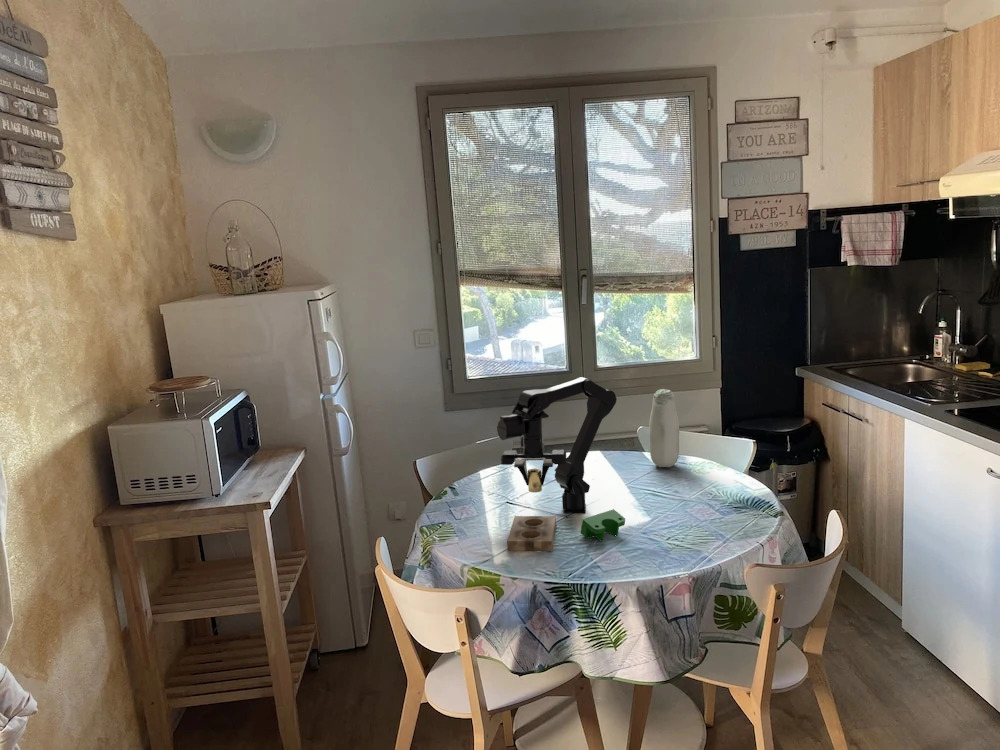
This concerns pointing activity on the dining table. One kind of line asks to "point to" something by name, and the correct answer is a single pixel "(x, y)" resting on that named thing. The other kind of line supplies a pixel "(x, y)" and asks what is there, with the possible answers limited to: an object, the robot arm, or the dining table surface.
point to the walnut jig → (532, 533)
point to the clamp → (602, 524)
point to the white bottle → (664, 429)
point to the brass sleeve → (534, 480)
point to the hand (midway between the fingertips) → (535, 485)
